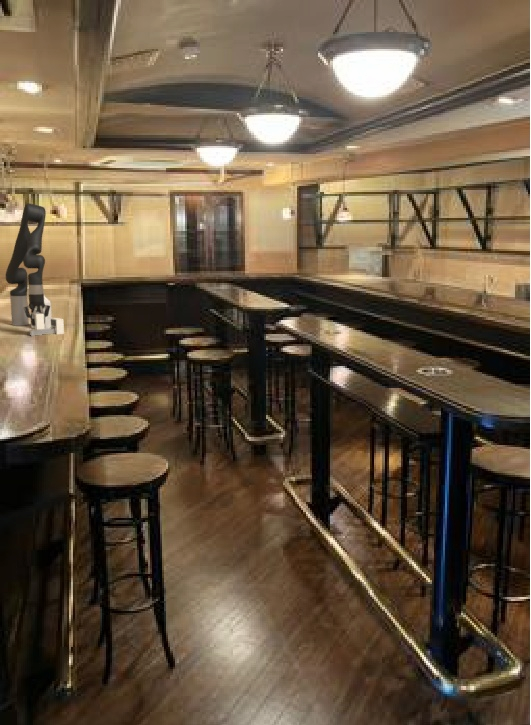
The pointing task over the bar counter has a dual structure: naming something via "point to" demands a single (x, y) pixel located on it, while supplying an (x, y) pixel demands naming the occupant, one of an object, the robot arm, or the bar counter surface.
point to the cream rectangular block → (38, 321)
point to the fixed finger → (57, 325)
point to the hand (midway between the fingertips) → (38, 324)
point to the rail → (42, 331)
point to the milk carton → (48, 318)
